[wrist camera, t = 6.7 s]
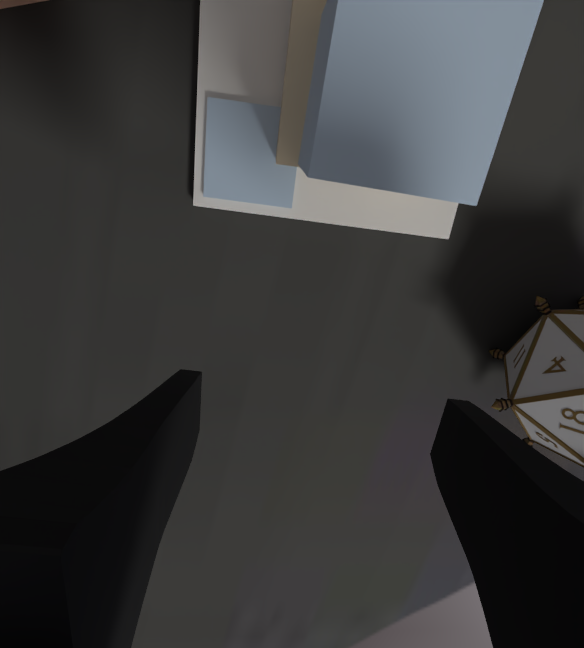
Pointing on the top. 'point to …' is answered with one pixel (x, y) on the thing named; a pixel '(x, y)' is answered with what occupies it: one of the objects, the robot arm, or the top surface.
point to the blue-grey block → (413, 93)
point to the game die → (549, 381)
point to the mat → (275, 133)
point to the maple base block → (297, 77)
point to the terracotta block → (16, 3)
